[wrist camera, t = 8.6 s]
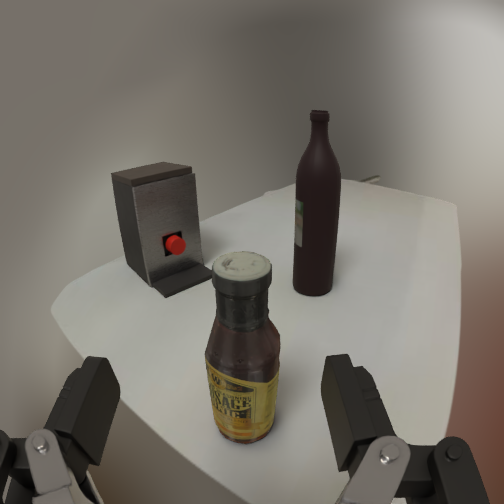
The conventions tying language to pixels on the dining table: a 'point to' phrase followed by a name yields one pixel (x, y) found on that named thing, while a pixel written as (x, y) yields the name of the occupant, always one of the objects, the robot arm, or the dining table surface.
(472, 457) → the robot arm
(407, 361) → the dining table surface
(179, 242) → the power button
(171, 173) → the coffee maker
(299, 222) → the wine bottle
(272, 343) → the sauce bottle
